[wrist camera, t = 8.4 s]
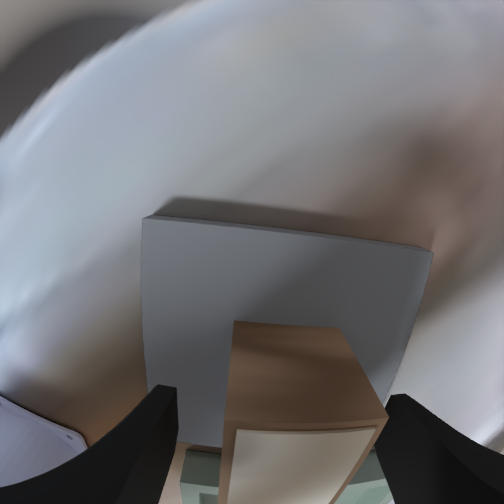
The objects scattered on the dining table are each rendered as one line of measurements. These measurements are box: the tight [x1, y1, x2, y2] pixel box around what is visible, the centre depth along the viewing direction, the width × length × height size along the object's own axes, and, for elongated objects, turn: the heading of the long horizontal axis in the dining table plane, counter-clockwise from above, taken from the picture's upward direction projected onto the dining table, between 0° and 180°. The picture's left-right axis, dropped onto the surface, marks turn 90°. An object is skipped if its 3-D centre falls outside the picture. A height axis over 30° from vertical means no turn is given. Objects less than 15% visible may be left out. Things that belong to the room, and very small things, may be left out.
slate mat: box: [141, 215, 433, 448], centre depth 12 cm, size 11×11×1 cm
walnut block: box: [218, 320, 389, 504], centre depth 9 cm, size 4×5×5 cm
